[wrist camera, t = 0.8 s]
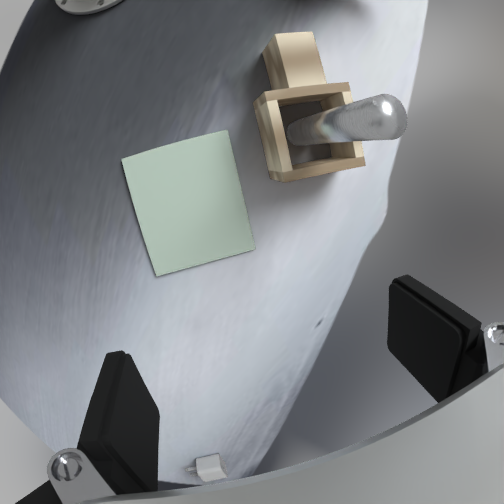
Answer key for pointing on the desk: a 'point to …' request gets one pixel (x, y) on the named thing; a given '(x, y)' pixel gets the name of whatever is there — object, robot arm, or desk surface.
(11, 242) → the desk surface
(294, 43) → the beige wooden open box
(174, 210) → the mat
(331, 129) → the post
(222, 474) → the usb wall charger
